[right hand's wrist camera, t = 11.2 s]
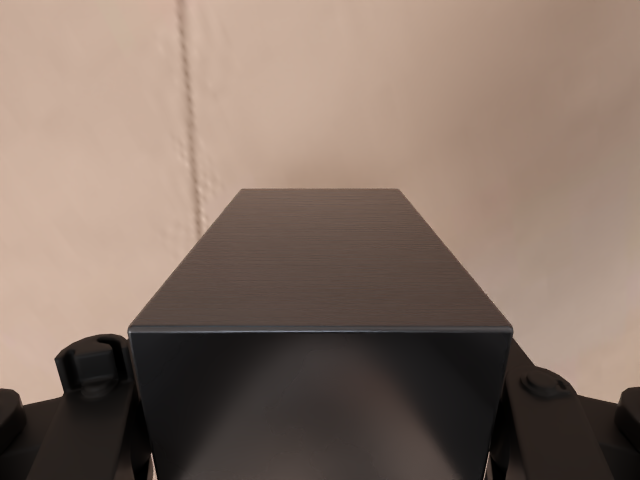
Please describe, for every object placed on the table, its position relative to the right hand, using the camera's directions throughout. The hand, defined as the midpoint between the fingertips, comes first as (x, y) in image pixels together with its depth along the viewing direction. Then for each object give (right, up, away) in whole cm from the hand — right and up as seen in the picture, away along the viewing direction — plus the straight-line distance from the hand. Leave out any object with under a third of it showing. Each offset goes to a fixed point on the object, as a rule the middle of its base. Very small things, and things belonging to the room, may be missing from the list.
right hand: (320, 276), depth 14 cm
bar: (0, -9, +4) cm, 10 cm away
